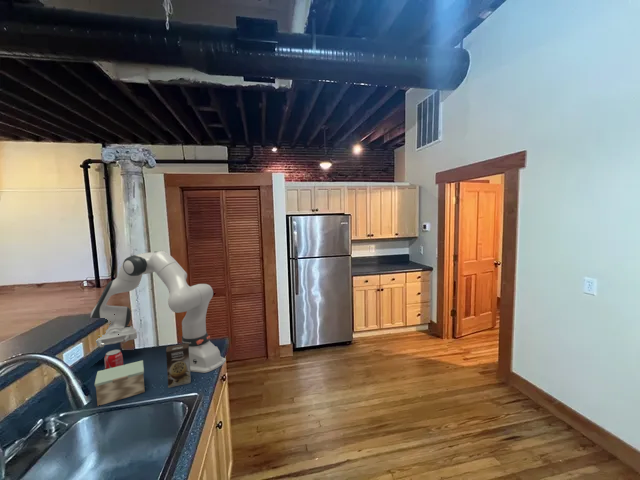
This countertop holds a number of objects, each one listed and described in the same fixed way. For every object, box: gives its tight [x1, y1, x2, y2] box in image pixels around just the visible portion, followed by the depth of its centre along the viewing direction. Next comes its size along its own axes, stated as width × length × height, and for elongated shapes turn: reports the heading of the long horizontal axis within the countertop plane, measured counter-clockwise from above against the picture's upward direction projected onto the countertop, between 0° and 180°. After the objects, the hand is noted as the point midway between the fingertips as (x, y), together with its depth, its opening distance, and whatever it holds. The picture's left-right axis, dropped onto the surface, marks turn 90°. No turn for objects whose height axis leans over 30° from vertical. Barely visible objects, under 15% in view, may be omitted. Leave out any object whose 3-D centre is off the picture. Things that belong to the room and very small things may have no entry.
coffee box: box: [165, 343, 192, 389], centre depth 131 cm, size 9×6×16 cm
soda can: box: [103, 349, 124, 370], centre depth 138 cm, size 7×7×12 cm
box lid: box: [94, 359, 145, 388], centre depth 124 cm, size 17×14×1 cm
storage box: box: [95, 374, 146, 407], centre depth 125 cm, size 16×12×8 cm
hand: (113, 343), depth 148 cm, fingers open, 8 cm apart
